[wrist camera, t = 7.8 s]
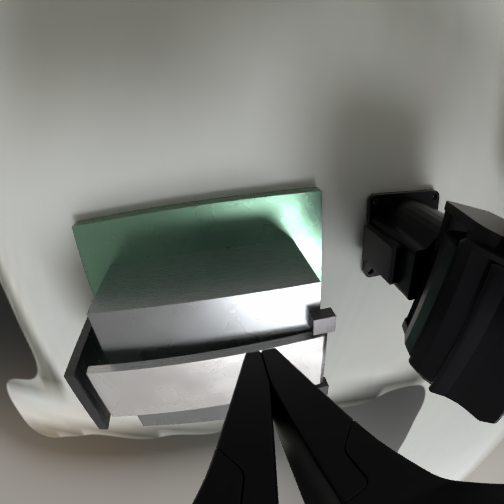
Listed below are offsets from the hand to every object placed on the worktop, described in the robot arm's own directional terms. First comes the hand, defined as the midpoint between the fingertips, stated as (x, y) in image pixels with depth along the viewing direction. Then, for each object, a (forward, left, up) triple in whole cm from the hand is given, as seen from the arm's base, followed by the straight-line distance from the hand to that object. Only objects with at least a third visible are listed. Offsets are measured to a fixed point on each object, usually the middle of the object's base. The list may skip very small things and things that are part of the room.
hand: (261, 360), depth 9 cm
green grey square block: (+2, +7, -13) cm, 15 cm away
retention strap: (+2, +7, -6) cm, 10 cm away
